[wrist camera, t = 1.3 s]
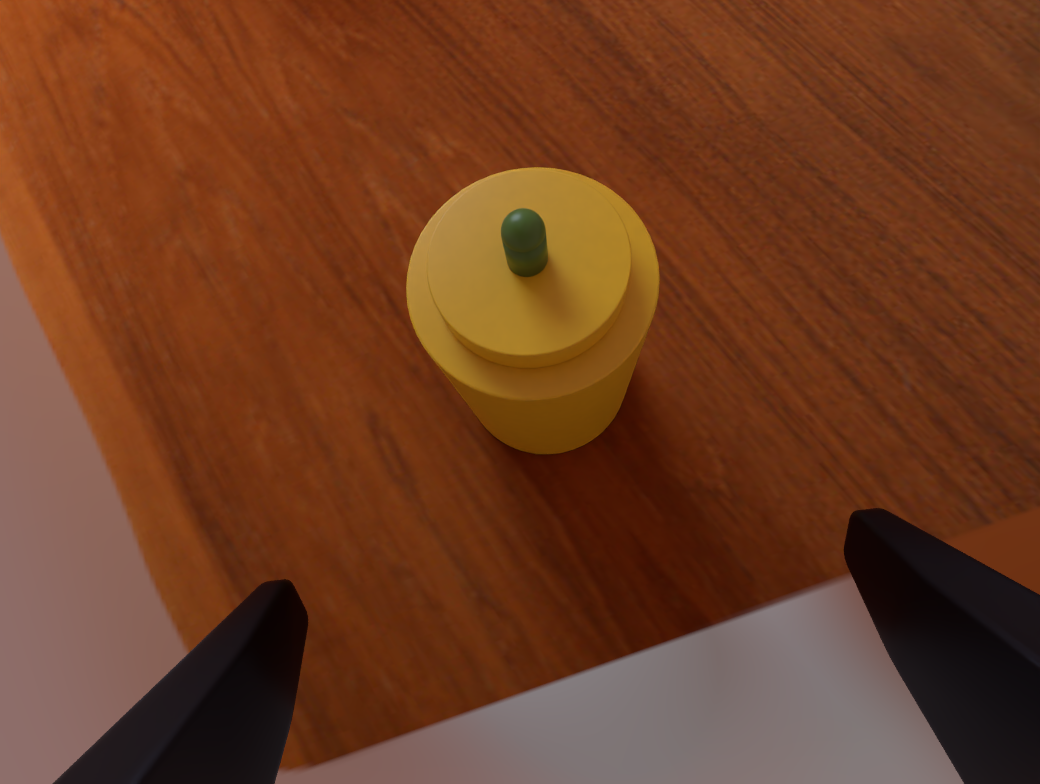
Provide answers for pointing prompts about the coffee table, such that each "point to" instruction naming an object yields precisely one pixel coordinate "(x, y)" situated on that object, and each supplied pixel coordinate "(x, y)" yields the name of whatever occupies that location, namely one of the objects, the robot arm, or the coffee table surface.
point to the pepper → (535, 303)
